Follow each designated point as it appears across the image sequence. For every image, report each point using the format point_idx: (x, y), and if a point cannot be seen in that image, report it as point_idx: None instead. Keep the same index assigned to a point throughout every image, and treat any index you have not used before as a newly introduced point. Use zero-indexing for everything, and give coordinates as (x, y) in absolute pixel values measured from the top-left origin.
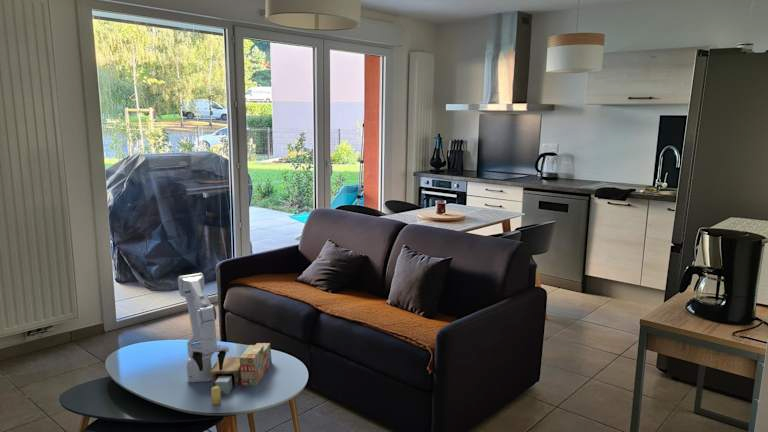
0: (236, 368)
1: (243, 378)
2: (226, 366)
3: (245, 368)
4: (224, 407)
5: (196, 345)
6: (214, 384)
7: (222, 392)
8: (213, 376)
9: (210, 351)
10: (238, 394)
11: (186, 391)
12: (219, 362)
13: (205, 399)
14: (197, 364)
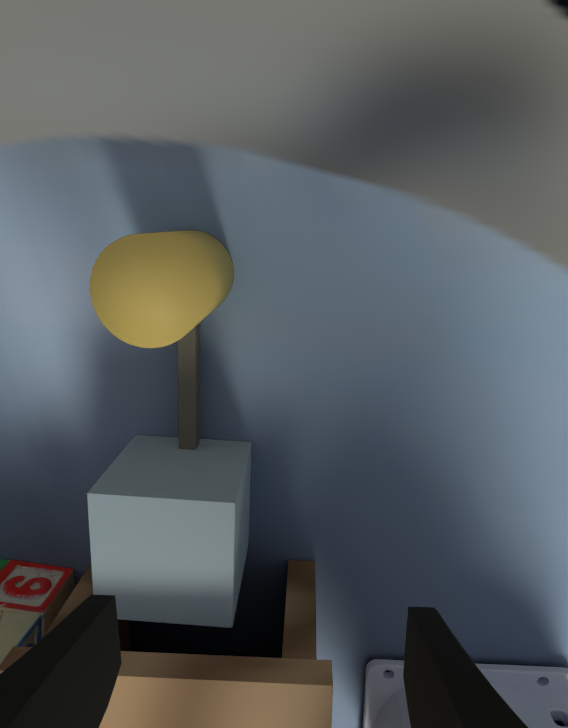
0: None
1: (17, 610)
2: None
3: None
4: (88, 176)
5: None
6: (299, 576)
7: (179, 429)
8: (301, 639)
9: None
10: (41, 413)
11: (543, 515)
12: (10, 703)
13: (323, 351)
14: (505, 706)
